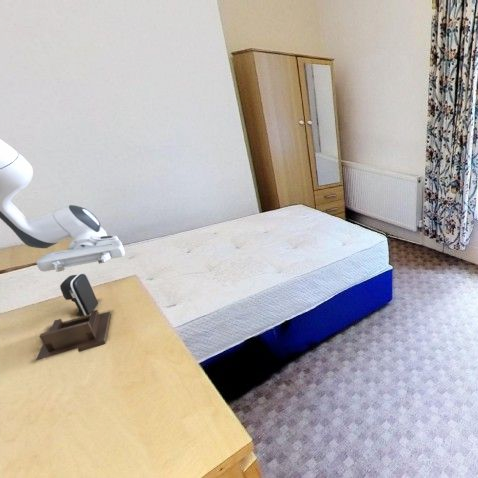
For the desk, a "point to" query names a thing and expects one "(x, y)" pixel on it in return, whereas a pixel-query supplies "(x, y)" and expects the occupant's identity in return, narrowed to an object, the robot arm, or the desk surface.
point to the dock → (75, 334)
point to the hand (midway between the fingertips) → (80, 265)
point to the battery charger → (79, 293)
